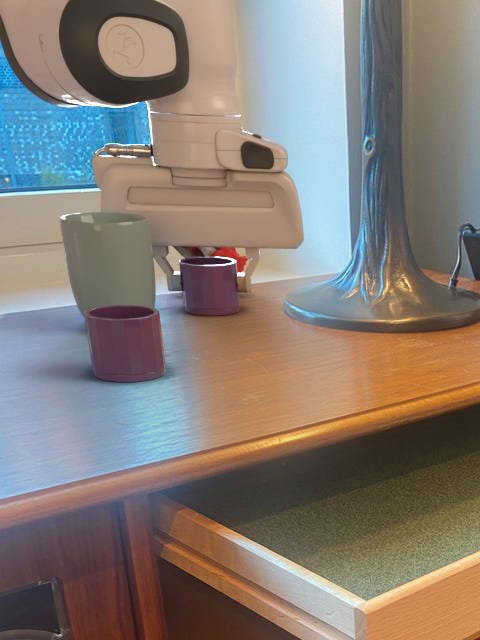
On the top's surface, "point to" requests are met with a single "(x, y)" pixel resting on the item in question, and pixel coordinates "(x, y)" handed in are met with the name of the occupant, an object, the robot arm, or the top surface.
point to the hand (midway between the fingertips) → (211, 291)
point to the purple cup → (209, 285)
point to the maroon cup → (125, 342)
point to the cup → (109, 259)
